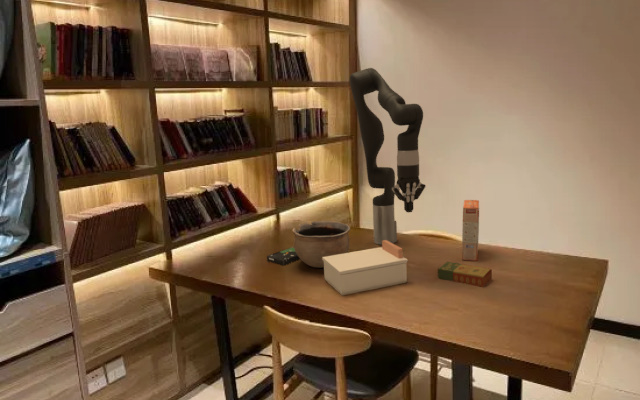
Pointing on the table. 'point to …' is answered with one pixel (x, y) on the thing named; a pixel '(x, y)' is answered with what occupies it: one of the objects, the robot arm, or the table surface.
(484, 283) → the carton
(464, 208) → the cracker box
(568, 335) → the table surface
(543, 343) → the table surface
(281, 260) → the disk drive
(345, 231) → the ceramic bowl
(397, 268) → the box
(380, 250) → the lid
